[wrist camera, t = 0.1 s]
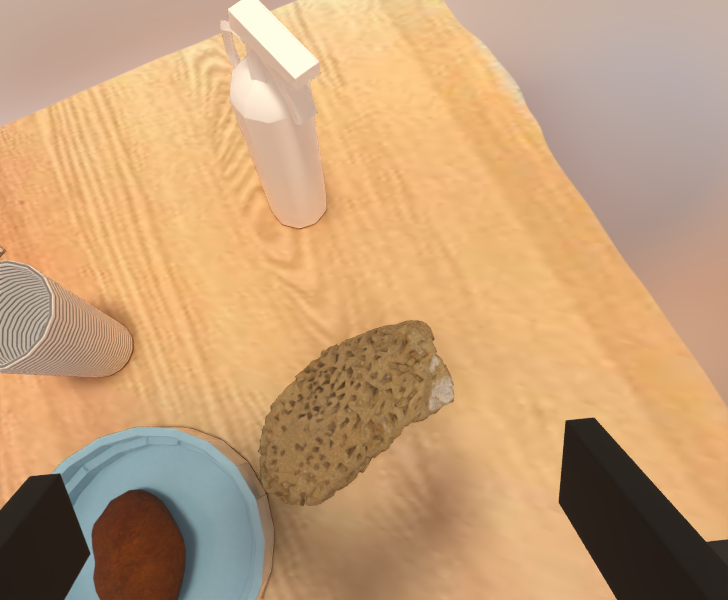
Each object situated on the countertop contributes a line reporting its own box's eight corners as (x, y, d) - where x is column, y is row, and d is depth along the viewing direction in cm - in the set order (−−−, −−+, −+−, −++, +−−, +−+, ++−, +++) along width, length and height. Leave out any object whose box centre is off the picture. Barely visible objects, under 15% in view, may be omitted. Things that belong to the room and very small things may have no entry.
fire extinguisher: (285, 144, 56) (228, -70, 32) (351, 214, 54) (342, 39, 30) (240, 177, 55) (145, -20, 31) (305, 250, 52) (257, 98, 28)
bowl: (317, 579, 44) (312, 597, 39) (106, 737, 40) (72, 778, 36) (204, 385, 48) (187, 380, 44) (8, 512, 45) (-35, 522, 40)
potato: (172, 468, 46) (134, 476, 38) (220, 584, 43) (190, 618, 36) (98, 509, 45) (44, 525, 37) (142, 630, 42) (94, 675, 35)
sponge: (404, 317, 52) (226, 384, 46) (433, 306, 44) (224, 384, 38) (447, 430, 51) (271, 514, 45) (484, 438, 43) (279, 540, 37)
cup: (161, 328, 50) (75, 285, 35) (119, 403, 48) (9, 391, 33) (92, 297, 51) (-20, 243, 36) (48, 369, 49) (-90, 343, 34)
